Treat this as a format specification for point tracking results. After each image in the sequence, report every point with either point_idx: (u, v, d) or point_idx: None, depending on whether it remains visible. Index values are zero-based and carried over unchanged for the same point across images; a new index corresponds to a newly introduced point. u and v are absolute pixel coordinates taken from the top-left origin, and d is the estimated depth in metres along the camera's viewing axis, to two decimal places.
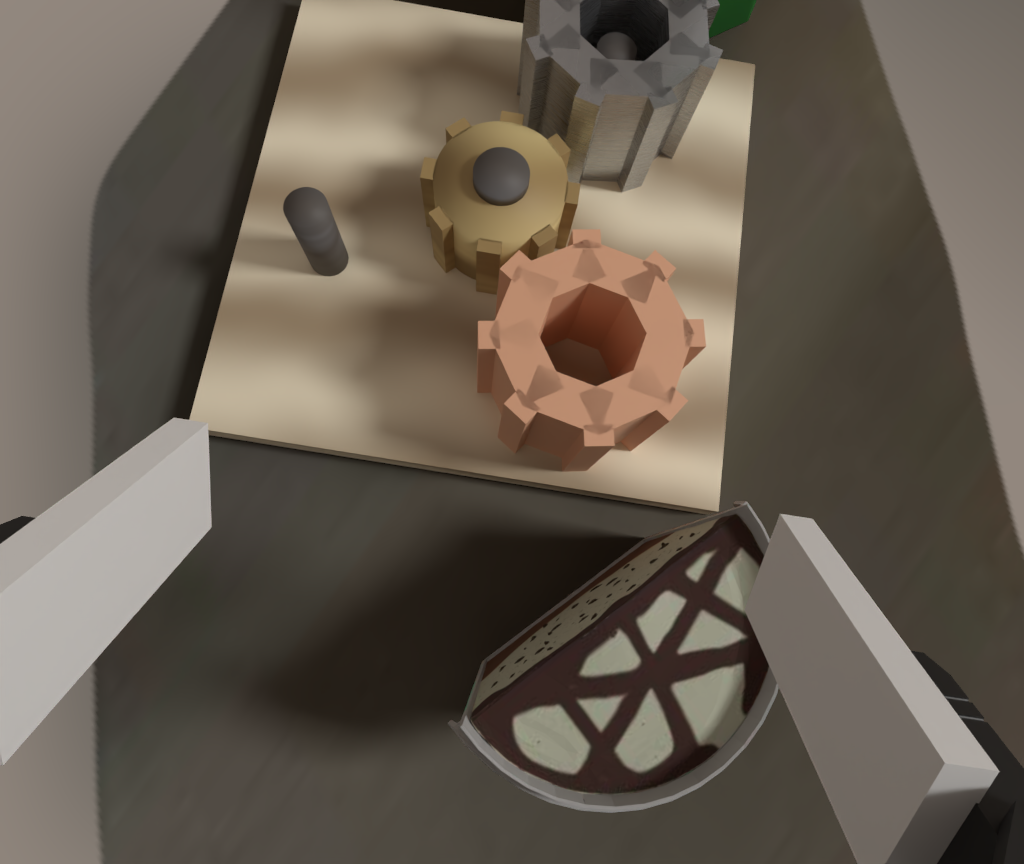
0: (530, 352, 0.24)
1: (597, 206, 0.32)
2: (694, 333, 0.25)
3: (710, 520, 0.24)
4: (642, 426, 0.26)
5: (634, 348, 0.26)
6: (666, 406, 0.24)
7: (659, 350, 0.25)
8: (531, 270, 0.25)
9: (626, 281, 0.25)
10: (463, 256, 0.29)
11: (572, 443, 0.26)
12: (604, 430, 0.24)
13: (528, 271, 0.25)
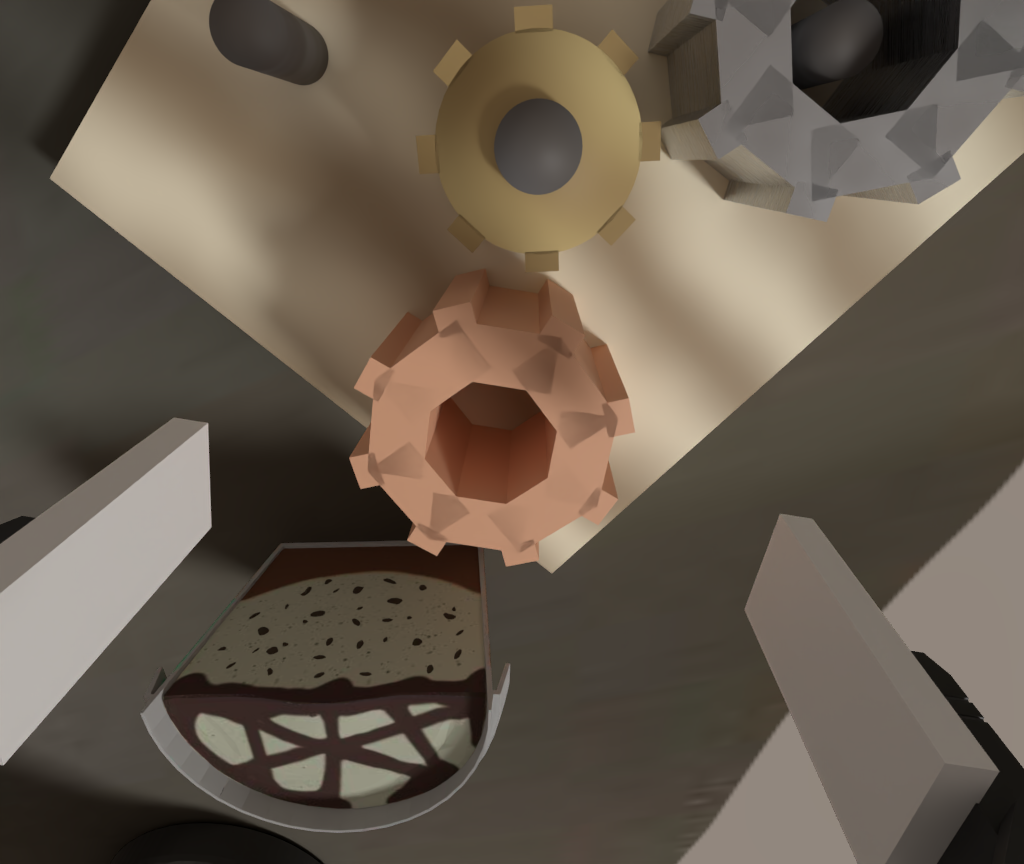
0: (409, 424, 0.19)
1: (679, 199, 0.22)
2: (597, 505, 0.20)
3: (484, 651, 0.23)
4: None
5: (546, 452, 0.22)
6: (513, 553, 0.21)
7: (547, 501, 0.20)
8: (469, 335, 0.18)
9: (568, 412, 0.19)
10: None
11: None
12: (436, 538, 0.21)
13: (464, 334, 0.18)
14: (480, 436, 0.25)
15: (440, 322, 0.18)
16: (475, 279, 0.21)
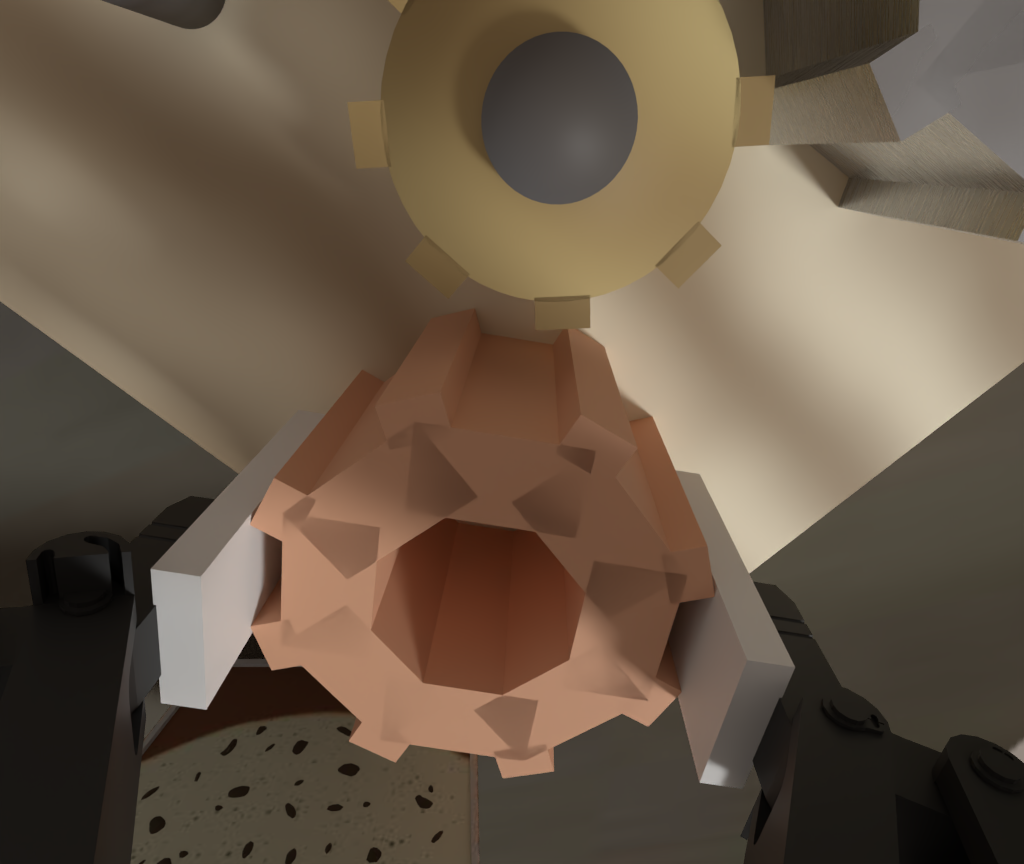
0: (343, 580, 0.12)
1: (770, 206, 0.15)
2: (647, 699, 0.13)
3: None
4: None
5: (566, 598, 0.14)
6: (514, 761, 0.14)
7: (568, 692, 0.13)
8: (438, 446, 0.11)
9: (604, 566, 0.12)
10: None
11: None
12: (393, 739, 0.13)
13: (430, 444, 0.11)
14: (468, 546, 0.17)
15: (389, 424, 0.11)
16: (457, 332, 0.14)
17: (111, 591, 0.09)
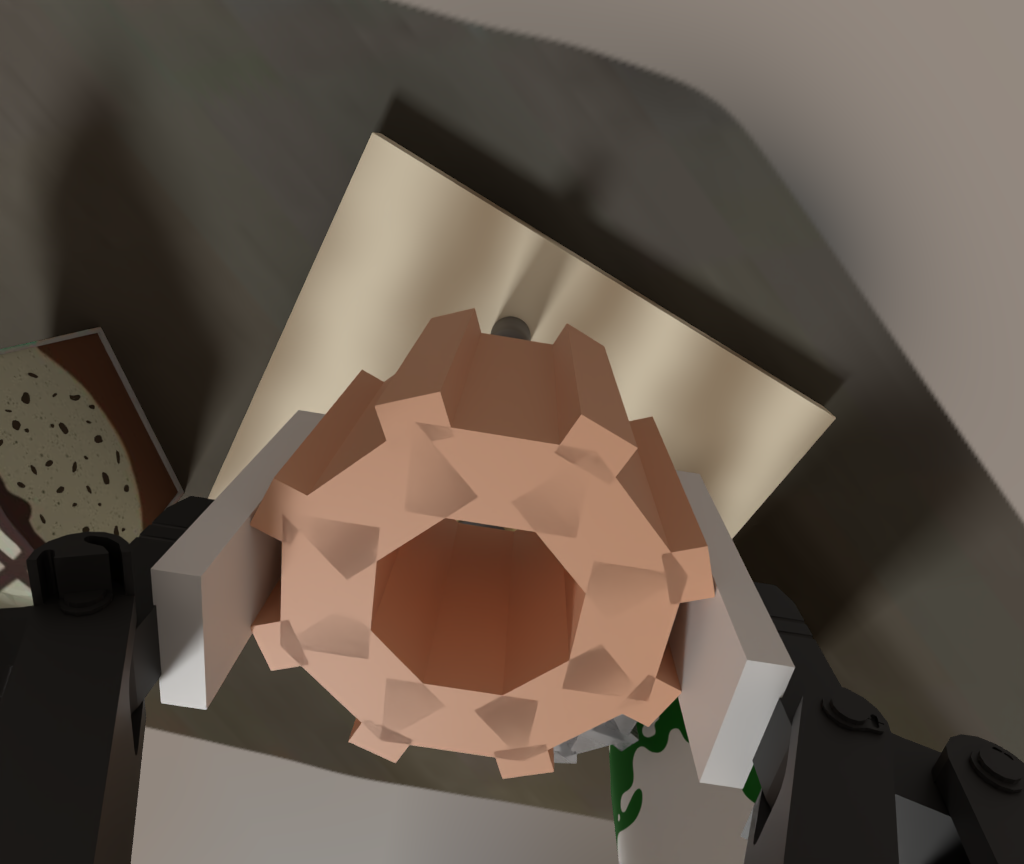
0: (343, 580, 0.12)
1: None
2: (647, 699, 0.13)
3: None
4: None
5: (566, 598, 0.14)
6: (514, 761, 0.13)
7: (568, 692, 0.13)
8: (438, 446, 0.11)
9: (605, 566, 0.12)
10: None
11: None
12: (393, 740, 0.13)
13: (430, 444, 0.11)
14: (468, 546, 0.17)
15: (388, 424, 0.11)
16: (457, 332, 0.14)
17: (111, 591, 0.09)
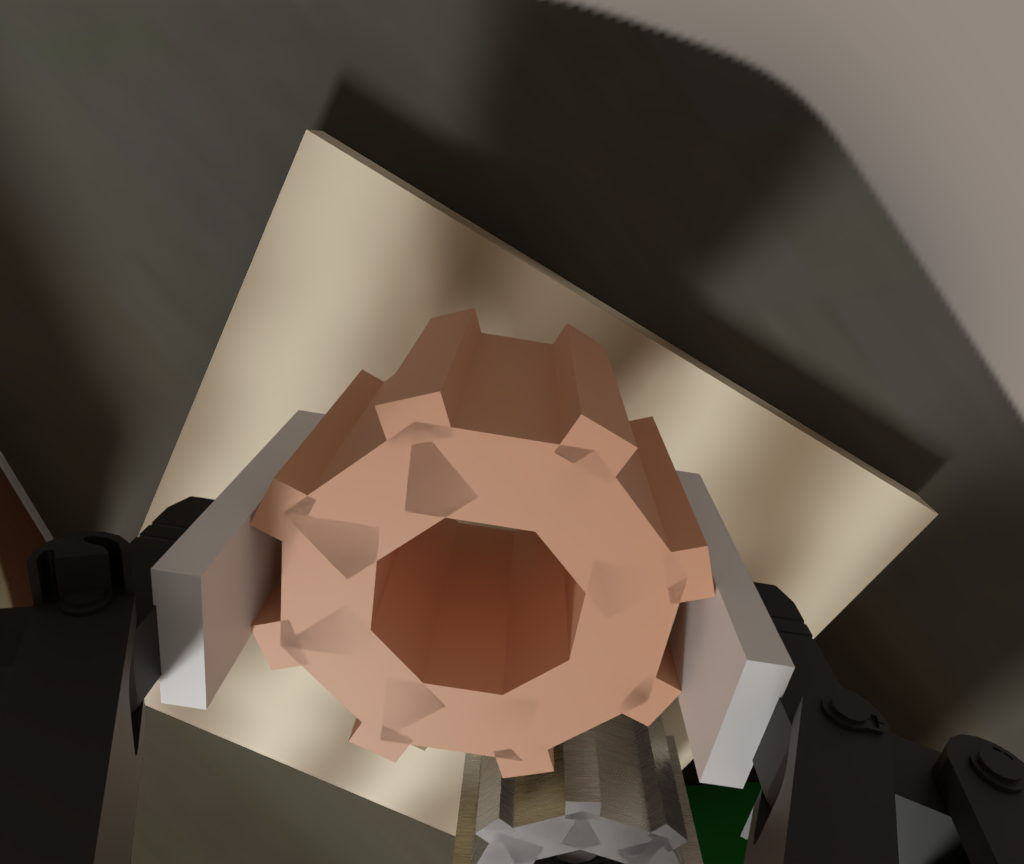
0: (343, 580, 0.12)
1: None
2: (647, 699, 0.13)
3: None
4: None
5: (566, 598, 0.14)
6: (514, 761, 0.14)
7: (568, 692, 0.13)
8: (438, 446, 0.11)
9: (605, 566, 0.12)
10: None
11: None
12: (393, 739, 0.13)
13: (430, 444, 0.11)
14: (468, 546, 0.17)
15: (389, 424, 0.11)
16: (457, 331, 0.14)
17: (111, 591, 0.09)
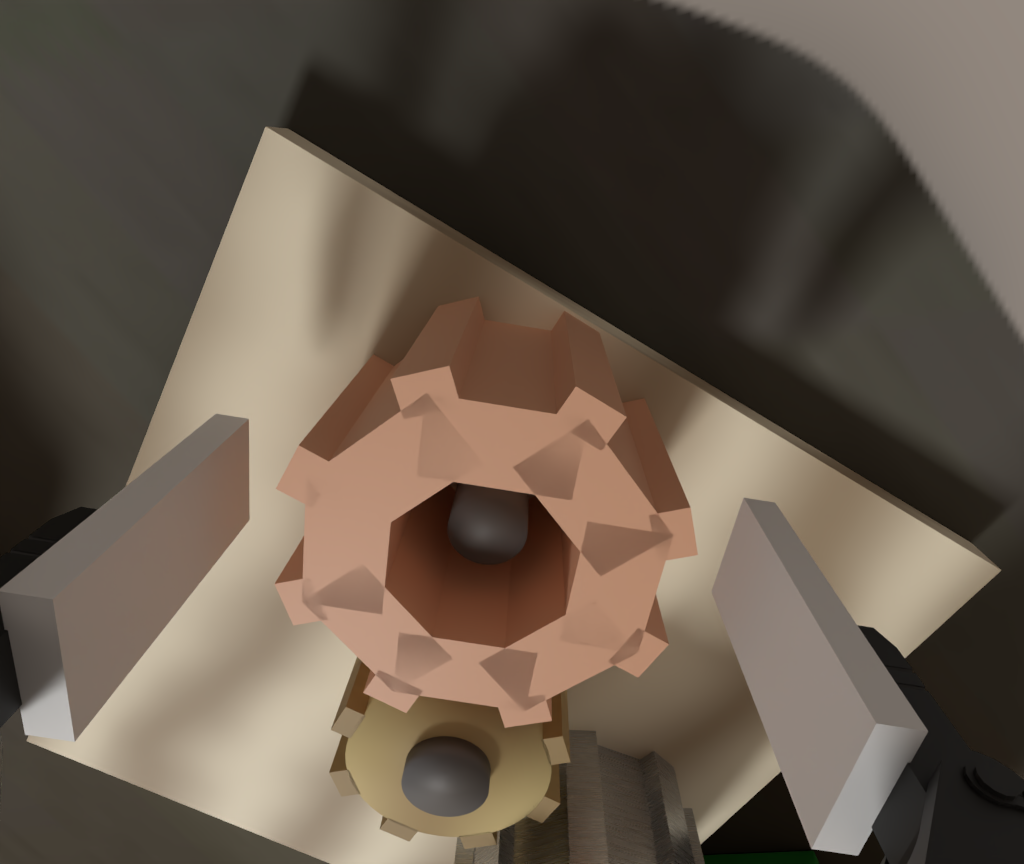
0: (360, 540, 0.13)
1: None
2: (637, 651, 0.14)
3: None
4: None
5: (563, 562, 0.15)
6: (515, 711, 0.15)
7: (565, 645, 0.14)
8: (447, 415, 0.12)
9: (597, 526, 0.13)
10: None
11: None
12: (404, 691, 0.15)
13: (440, 414, 0.12)
14: None
15: (403, 395, 0.12)
16: (462, 317, 0.15)
17: None
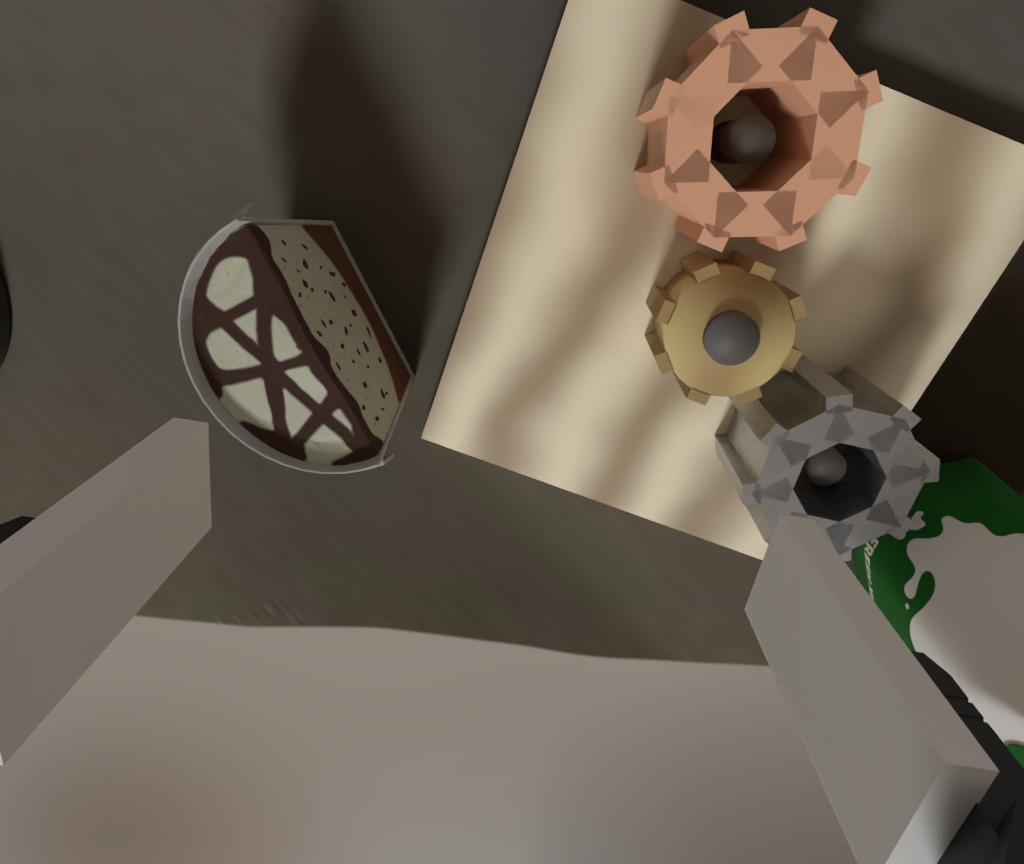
0: (697, 133, 0.25)
1: (707, 411, 0.35)
2: (854, 177, 0.25)
3: (387, 434, 0.31)
4: None
5: (795, 158, 0.27)
6: (785, 236, 0.26)
7: (812, 181, 0.25)
8: (743, 41, 0.24)
9: (826, 94, 0.24)
10: (679, 282, 0.31)
11: (691, 221, 0.28)
12: (720, 235, 0.26)
13: (740, 41, 0.24)
14: None
15: (720, 34, 0.24)
16: None
17: None
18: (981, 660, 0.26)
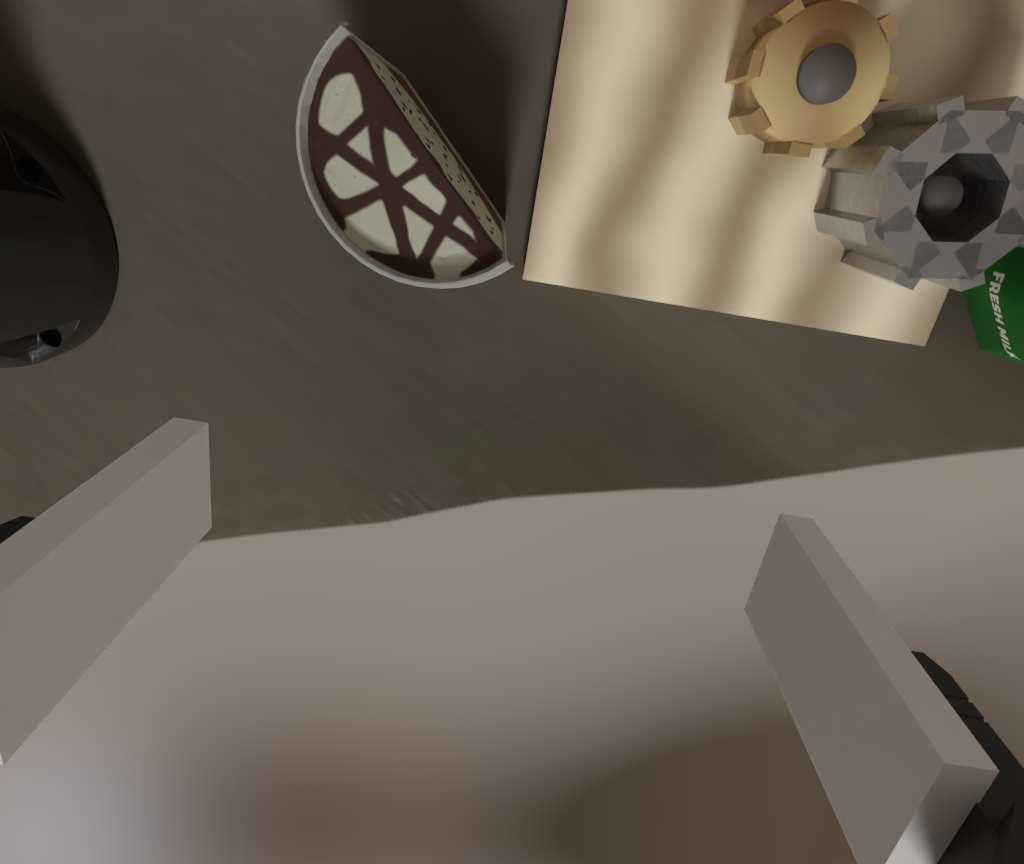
0: None
1: (802, 187, 0.35)
2: None
3: (502, 248, 0.32)
4: None
5: None
6: None
7: None
8: None
9: None
10: (759, 42, 0.31)
11: None
12: None
13: None
14: None
15: None
16: None
17: None
18: None
